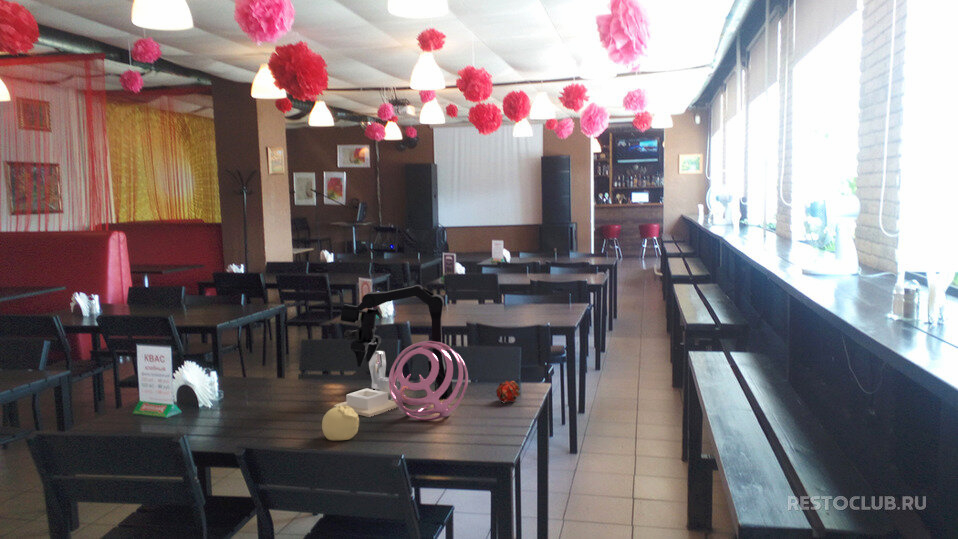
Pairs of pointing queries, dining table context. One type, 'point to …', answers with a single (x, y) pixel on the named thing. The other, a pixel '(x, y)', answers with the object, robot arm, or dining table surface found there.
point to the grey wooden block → (386, 386)
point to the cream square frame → (368, 402)
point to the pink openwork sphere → (427, 382)
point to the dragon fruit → (508, 391)
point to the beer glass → (377, 367)
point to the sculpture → (340, 423)
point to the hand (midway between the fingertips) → (363, 364)
